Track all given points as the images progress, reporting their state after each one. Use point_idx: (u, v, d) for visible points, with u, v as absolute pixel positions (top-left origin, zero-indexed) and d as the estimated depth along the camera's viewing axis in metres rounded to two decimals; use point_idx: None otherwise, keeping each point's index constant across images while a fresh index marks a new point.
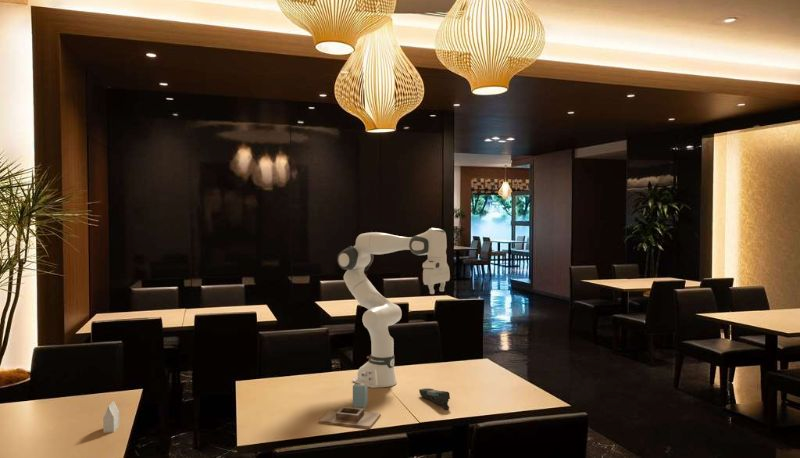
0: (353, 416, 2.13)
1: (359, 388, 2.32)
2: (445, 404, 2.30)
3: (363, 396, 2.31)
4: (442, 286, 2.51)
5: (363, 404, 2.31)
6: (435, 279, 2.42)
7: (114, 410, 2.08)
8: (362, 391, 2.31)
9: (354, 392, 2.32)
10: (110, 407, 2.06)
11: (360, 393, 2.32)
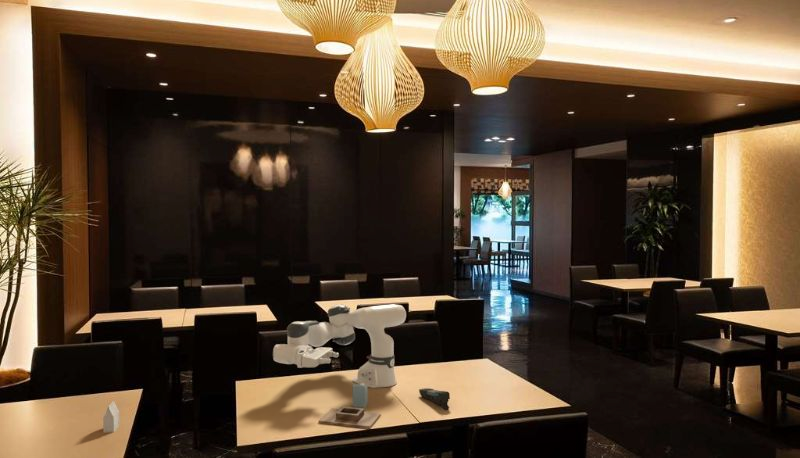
0: (353, 416, 2.13)
1: (359, 388, 2.32)
2: (445, 404, 2.30)
3: (363, 396, 2.31)
4: (334, 354, 2.42)
5: (363, 404, 2.31)
6: (316, 355, 2.34)
7: (114, 410, 2.08)
8: (362, 391, 2.31)
9: (354, 392, 2.32)
10: (110, 407, 2.06)
11: (360, 392, 2.32)
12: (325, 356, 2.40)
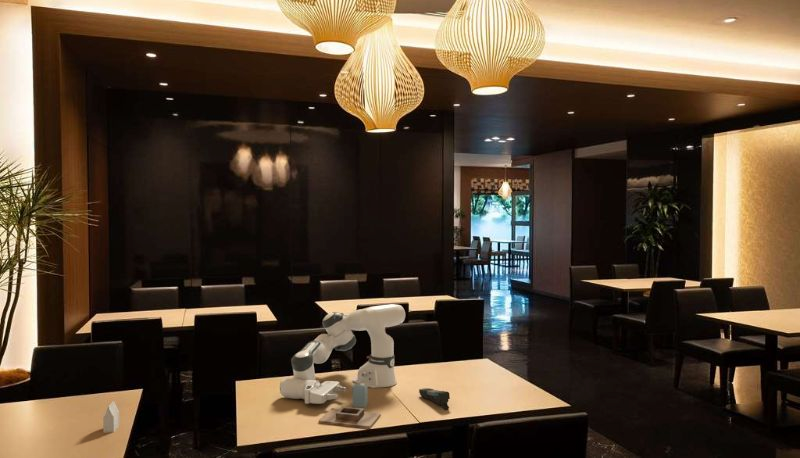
0: (353, 416, 2.13)
1: (359, 388, 2.32)
2: (445, 404, 2.30)
3: (363, 396, 2.31)
4: None
5: (363, 404, 2.31)
6: (323, 391, 2.33)
7: (114, 410, 2.08)
8: (362, 391, 2.31)
9: (354, 392, 2.32)
10: (110, 407, 2.06)
11: (360, 392, 2.32)
12: (332, 391, 2.39)
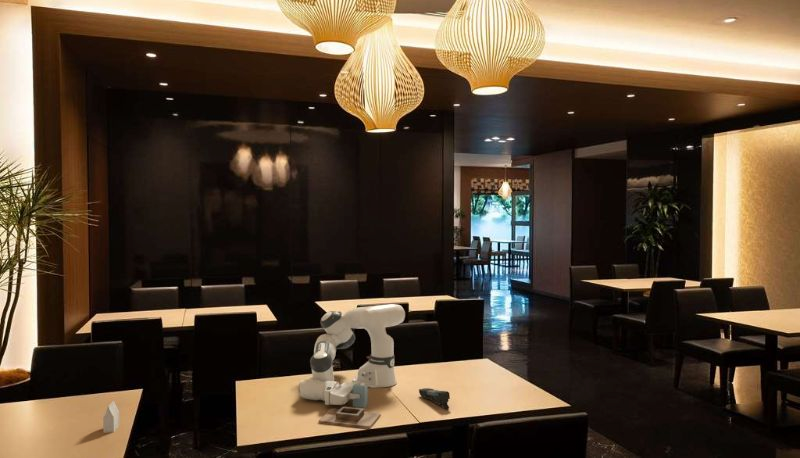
0: (353, 416, 2.13)
1: (359, 388, 2.32)
2: (445, 404, 2.30)
3: (363, 396, 2.31)
4: None
5: (363, 404, 2.31)
6: (343, 392, 2.31)
7: (114, 410, 2.08)
8: (362, 391, 2.31)
9: (354, 392, 2.32)
10: (110, 407, 2.06)
11: (360, 392, 2.32)
12: (352, 392, 2.37)
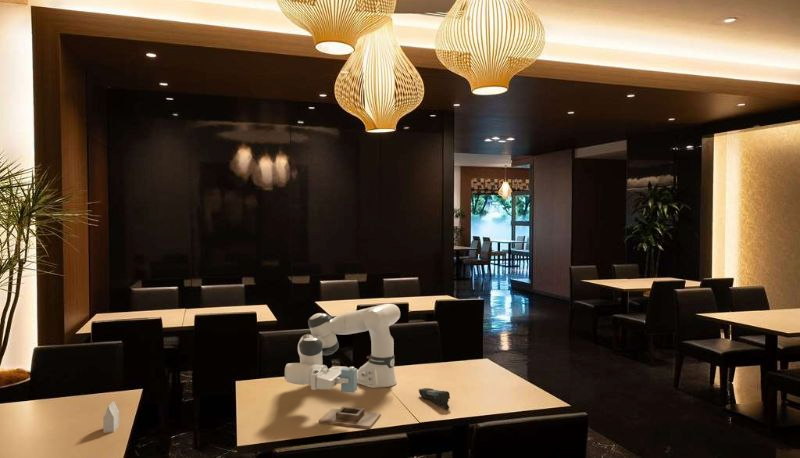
0: (353, 416, 2.13)
1: (348, 372, 2.16)
2: (445, 404, 2.30)
3: (352, 380, 2.15)
4: None
5: (352, 389, 2.15)
6: (331, 376, 2.15)
7: (114, 410, 2.08)
8: (351, 376, 2.15)
9: (343, 376, 2.16)
10: (110, 407, 2.06)
11: (349, 377, 2.16)
12: None
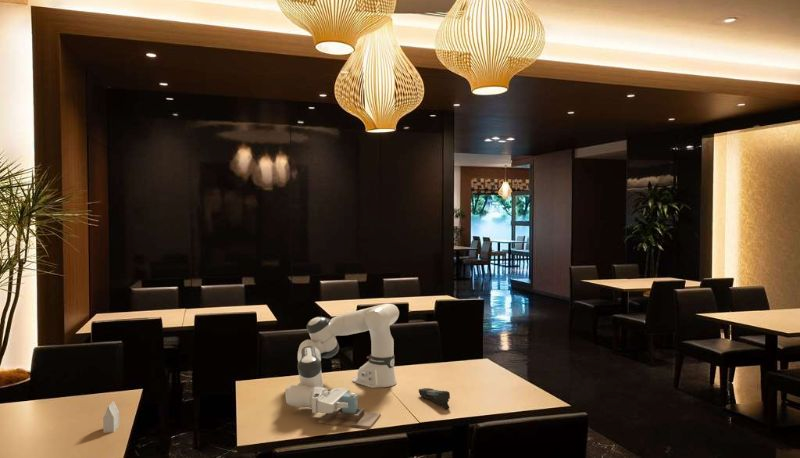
0: (353, 416, 2.13)
1: (349, 398, 2.16)
2: (445, 404, 2.30)
3: (353, 407, 2.15)
4: None
5: None
6: (332, 399, 2.15)
7: (114, 410, 2.08)
8: (351, 402, 2.16)
9: None
10: (110, 407, 2.06)
11: (350, 403, 2.16)
12: None
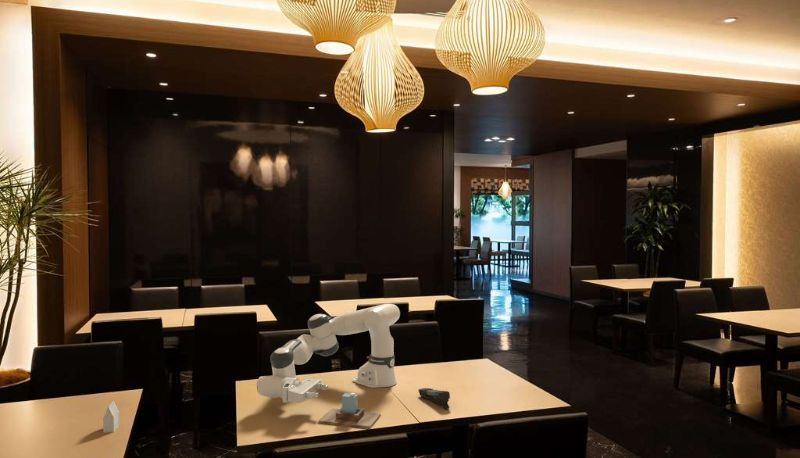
0: (353, 416, 2.13)
1: (349, 398, 2.16)
2: (445, 404, 2.30)
3: (353, 407, 2.15)
4: (322, 386, 2.26)
5: None
6: (302, 389, 2.17)
7: (114, 410, 2.08)
8: (351, 402, 2.16)
9: (343, 403, 2.17)
10: (110, 407, 2.06)
11: (350, 403, 2.16)
12: (313, 389, 2.24)
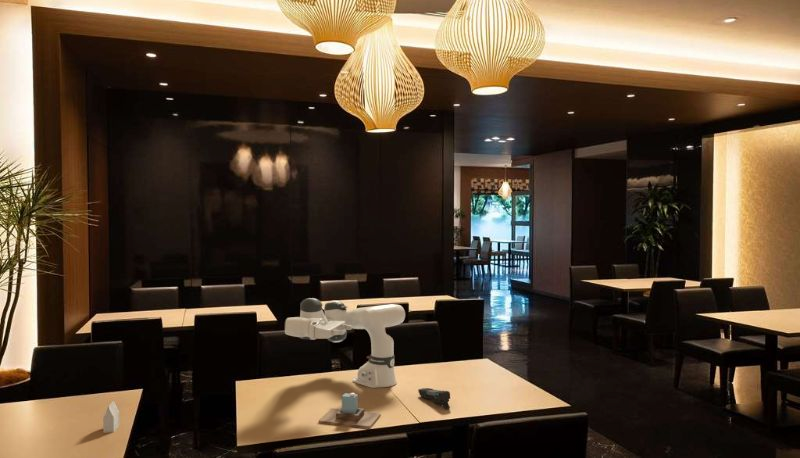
0: (353, 416, 2.13)
1: (349, 398, 2.16)
2: (446, 404, 2.30)
3: (353, 407, 2.15)
4: (347, 326, 2.36)
5: None
6: (329, 327, 2.28)
7: (114, 410, 2.08)
8: (351, 402, 2.16)
9: (343, 403, 2.17)
10: (110, 407, 2.06)
11: (350, 403, 2.16)
12: (338, 329, 2.34)
